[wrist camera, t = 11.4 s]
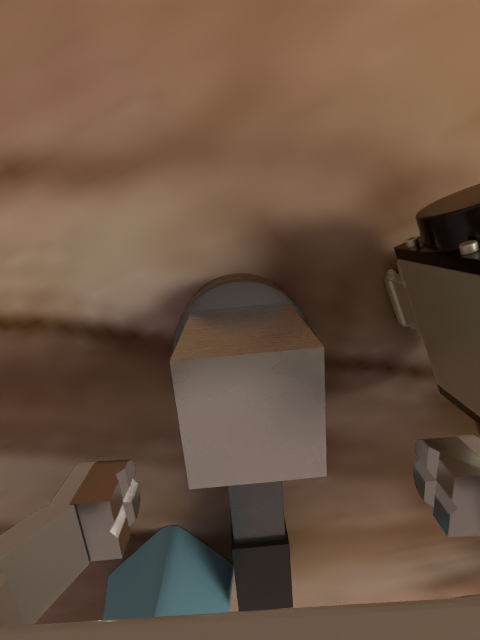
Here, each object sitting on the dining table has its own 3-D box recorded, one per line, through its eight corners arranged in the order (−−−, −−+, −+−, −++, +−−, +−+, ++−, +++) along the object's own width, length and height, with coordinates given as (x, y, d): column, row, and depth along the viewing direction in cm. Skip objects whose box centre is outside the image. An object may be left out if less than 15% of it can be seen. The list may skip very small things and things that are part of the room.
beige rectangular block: (289, 302, 19) (324, 347, 12) (293, 390, 20) (326, 476, 13) (191, 310, 19) (169, 361, 12) (202, 398, 20) (188, 489, 13)
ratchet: (297, 268, 22) (331, 289, 15) (309, 560, 28) (336, 675, 21) (173, 279, 22) (145, 306, 14) (214, 570, 28) (208, 688, 21)
